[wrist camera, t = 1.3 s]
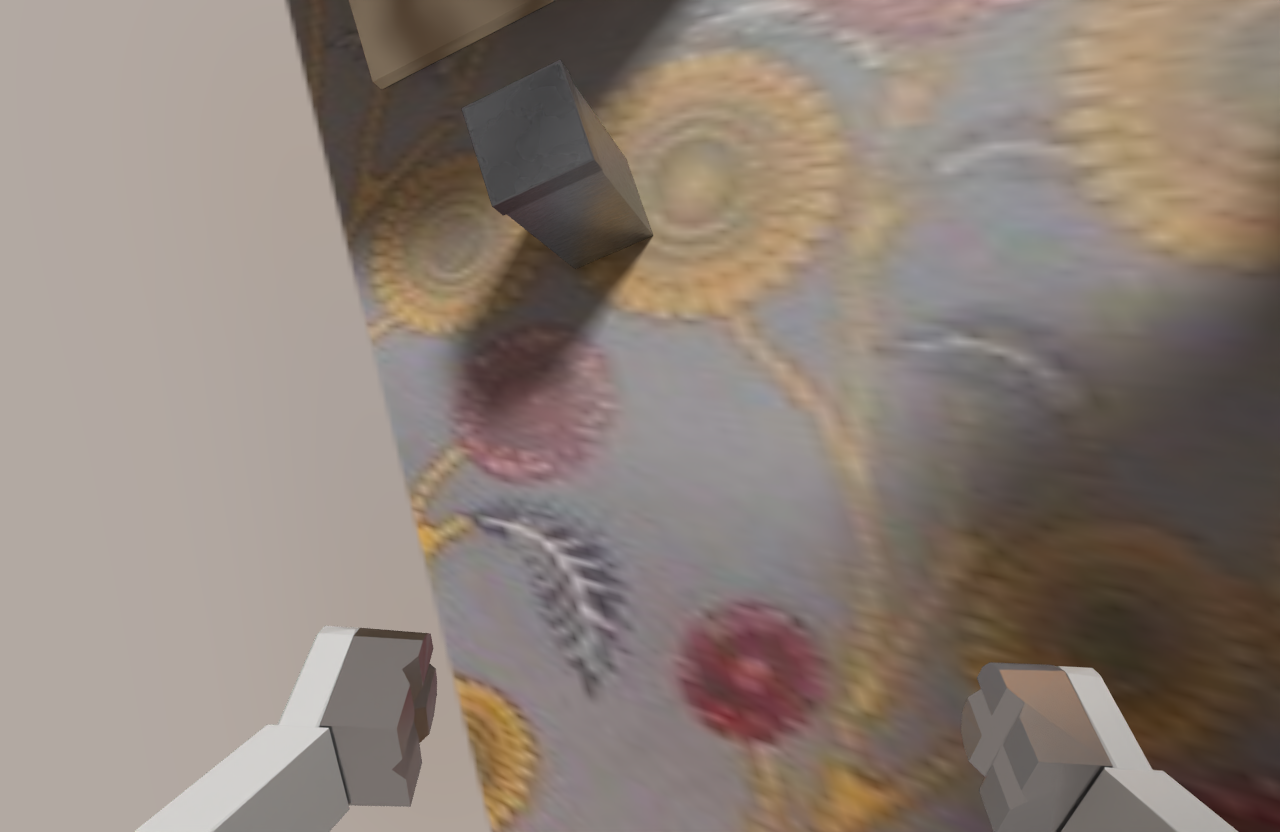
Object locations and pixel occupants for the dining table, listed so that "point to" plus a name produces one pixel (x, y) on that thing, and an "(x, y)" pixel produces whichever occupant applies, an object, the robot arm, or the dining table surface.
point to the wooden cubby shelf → (427, 30)
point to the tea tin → (556, 167)
